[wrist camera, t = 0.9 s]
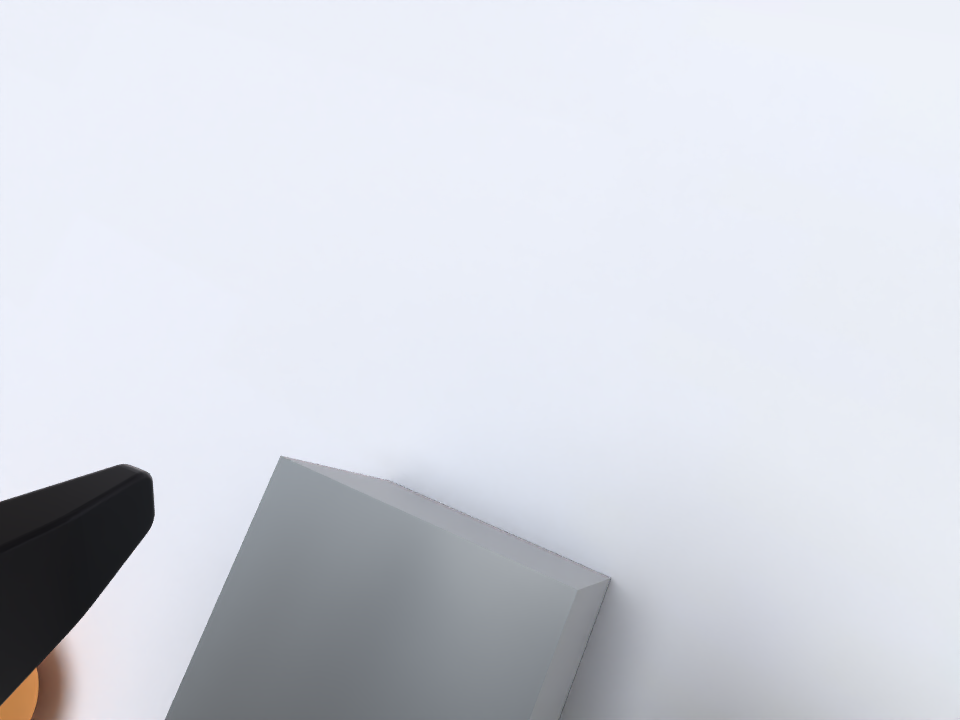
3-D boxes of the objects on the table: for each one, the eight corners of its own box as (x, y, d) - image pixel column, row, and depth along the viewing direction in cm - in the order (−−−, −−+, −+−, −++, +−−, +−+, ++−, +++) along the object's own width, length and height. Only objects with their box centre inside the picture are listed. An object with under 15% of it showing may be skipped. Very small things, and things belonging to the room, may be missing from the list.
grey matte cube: (514, 841, 20) (434, 972, 14) (293, 710, 23) (142, 771, 17) (611, 578, 21) (577, 589, 15) (388, 480, 24) (280, 455, 18)
